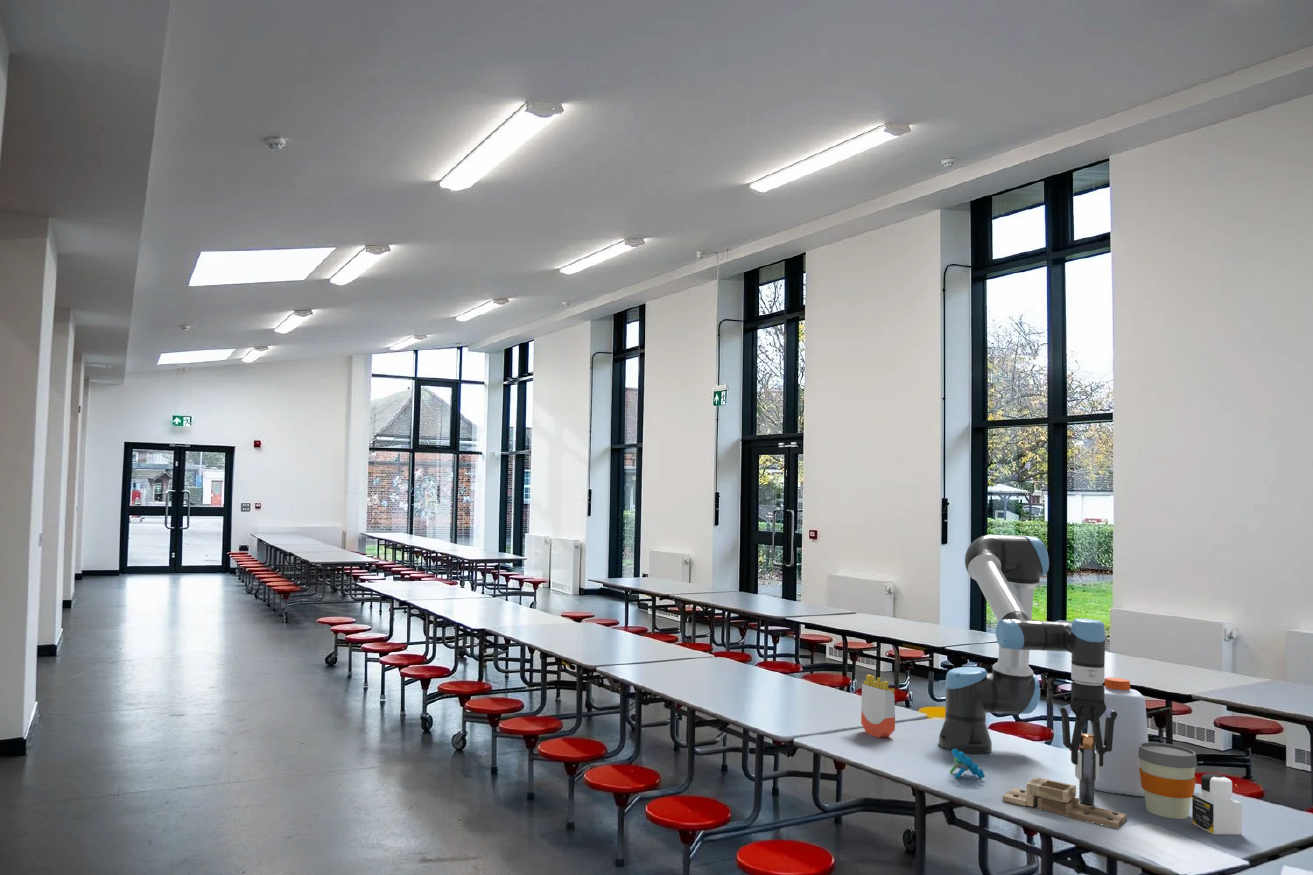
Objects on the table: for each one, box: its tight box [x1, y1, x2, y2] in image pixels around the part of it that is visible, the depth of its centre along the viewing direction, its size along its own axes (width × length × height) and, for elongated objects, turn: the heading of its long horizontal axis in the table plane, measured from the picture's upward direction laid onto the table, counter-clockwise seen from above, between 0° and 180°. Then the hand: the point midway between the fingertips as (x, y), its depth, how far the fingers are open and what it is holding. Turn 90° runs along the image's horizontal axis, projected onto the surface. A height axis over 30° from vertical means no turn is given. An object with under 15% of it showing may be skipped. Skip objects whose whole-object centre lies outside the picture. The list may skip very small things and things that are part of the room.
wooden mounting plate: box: [1037, 796, 1128, 830], centre depth 214 cm, size 9×18×3 cm, turn 50°
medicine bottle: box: [1191, 773, 1243, 836], centre depth 207 cm, size 7×7×12 cm
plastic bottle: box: [1086, 677, 1149, 798], centre depth 238 cm, size 15×15×28 cm
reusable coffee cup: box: [1138, 742, 1198, 820], centre depth 218 cm, size 13×13×15 cm
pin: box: [1078, 733, 1096, 805], centre depth 223 cm, size 3×3×16 cm
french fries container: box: [860, 674, 896, 739], centre depth 283 cm, size 5×11×18 cm, turn 28°
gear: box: [949, 749, 986, 779], centre depth 240 cm, size 11×6×10 cm
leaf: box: [1002, 776, 1077, 808], centre depth 220 cm, size 9×15×5 cm, turn 50°
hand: (1086, 778), depth 223 cm, fingers closed on pin, 3 cm apart
